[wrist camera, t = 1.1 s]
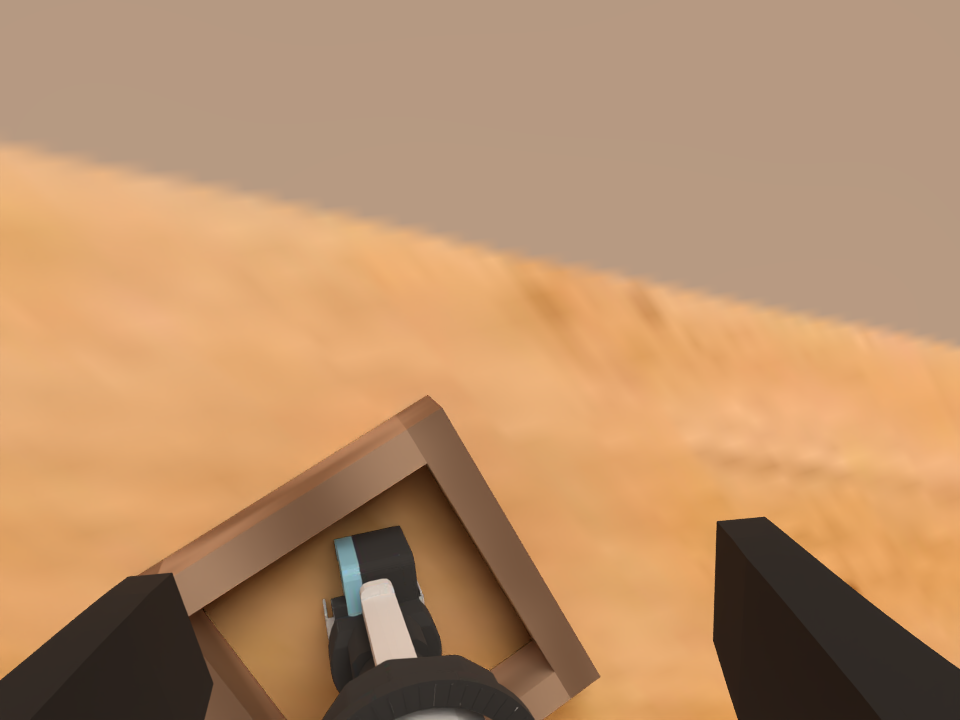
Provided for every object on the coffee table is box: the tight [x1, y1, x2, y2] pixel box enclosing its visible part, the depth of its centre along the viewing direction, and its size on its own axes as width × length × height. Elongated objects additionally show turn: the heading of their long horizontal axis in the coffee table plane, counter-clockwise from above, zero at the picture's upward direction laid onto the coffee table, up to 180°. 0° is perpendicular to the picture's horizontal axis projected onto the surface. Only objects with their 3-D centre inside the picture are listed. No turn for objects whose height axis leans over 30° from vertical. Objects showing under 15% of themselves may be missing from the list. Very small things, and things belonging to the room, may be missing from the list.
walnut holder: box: [138, 395, 600, 720], centre depth 22 cm, size 10×11×2 cm
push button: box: [322, 526, 535, 720], centre depth 18 cm, size 7×5×10 cm
